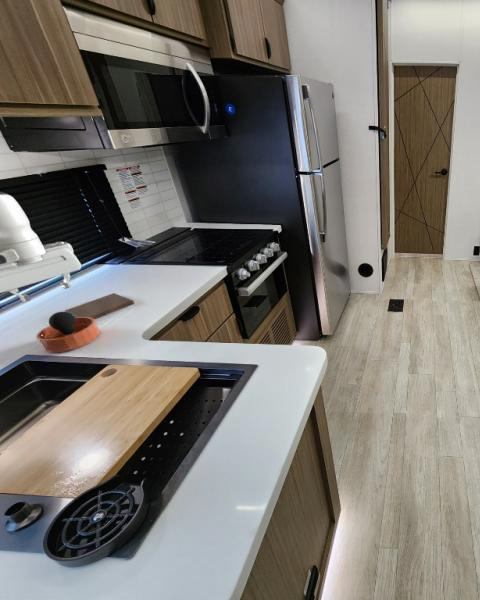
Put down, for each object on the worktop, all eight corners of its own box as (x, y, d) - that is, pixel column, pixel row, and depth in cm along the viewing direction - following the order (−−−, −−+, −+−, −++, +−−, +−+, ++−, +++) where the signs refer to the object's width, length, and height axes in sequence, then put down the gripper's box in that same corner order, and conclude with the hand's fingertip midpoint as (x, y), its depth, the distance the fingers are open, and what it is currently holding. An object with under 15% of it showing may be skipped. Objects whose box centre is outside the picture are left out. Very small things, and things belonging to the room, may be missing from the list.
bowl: (56, 358, 98) (48, 344, 96) (37, 346, 104) (28, 333, 102) (109, 335, 109) (102, 322, 107) (88, 325, 115) (82, 313, 112)
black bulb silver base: (80, 332, 110) (66, 306, 105) (88, 337, 107) (73, 311, 102) (57, 341, 105) (41, 314, 101) (65, 347, 103) (48, 319, 98)
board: (84, 323, 116) (82, 319, 115) (66, 314, 122) (64, 310, 121) (134, 303, 128) (132, 300, 128) (115, 296, 134) (113, 293, 134)
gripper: (63, 238, 101) (84, 278, 108) (-36, 260, 85) (-4, 306, 92) (72, 240, 99) (94, 282, 105) (-28, 264, 83) (5, 311, 89)
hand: (47, 294), depth 99 cm, fingers open, 8 cm apart
